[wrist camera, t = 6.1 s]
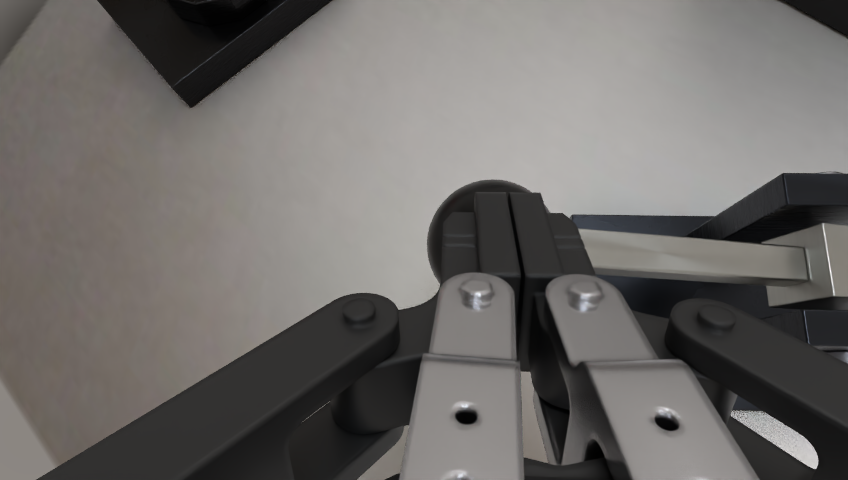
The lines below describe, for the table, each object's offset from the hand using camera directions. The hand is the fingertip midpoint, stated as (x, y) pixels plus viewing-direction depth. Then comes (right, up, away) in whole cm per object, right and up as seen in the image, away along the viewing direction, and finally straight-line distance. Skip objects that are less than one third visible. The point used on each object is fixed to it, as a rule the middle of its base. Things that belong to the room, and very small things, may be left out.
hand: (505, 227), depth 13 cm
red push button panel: (-13, +14, +20) cm, 27 cm away
